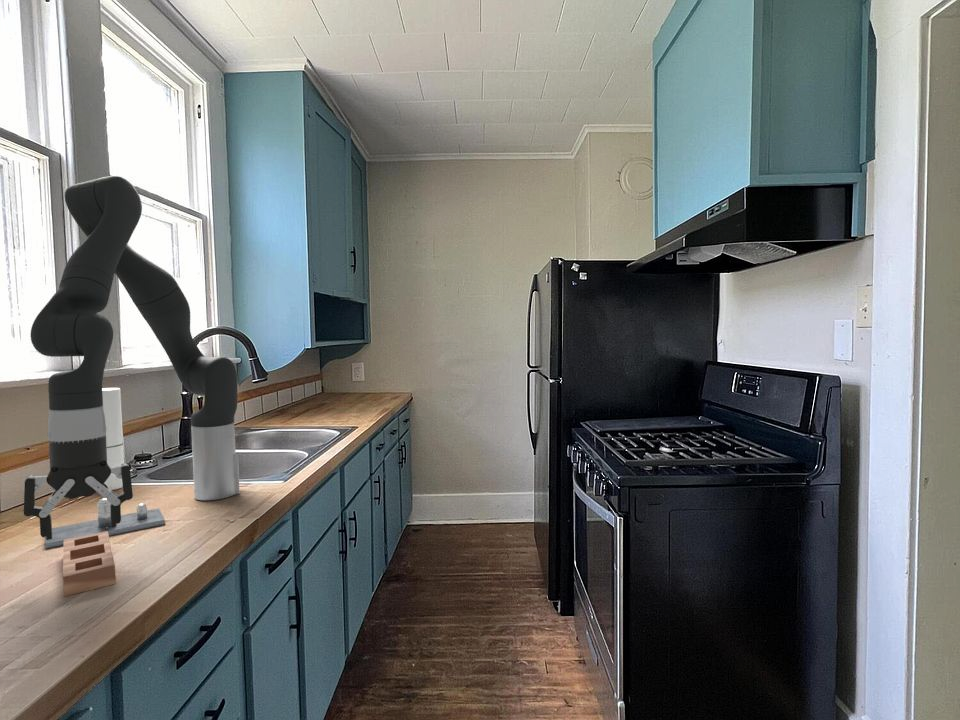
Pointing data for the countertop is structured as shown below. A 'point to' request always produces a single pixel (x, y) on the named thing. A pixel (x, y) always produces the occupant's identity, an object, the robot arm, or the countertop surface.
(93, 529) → the post plate
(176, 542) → the countertop surface
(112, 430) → the cylindrical container
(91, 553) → the wooden block with holes
